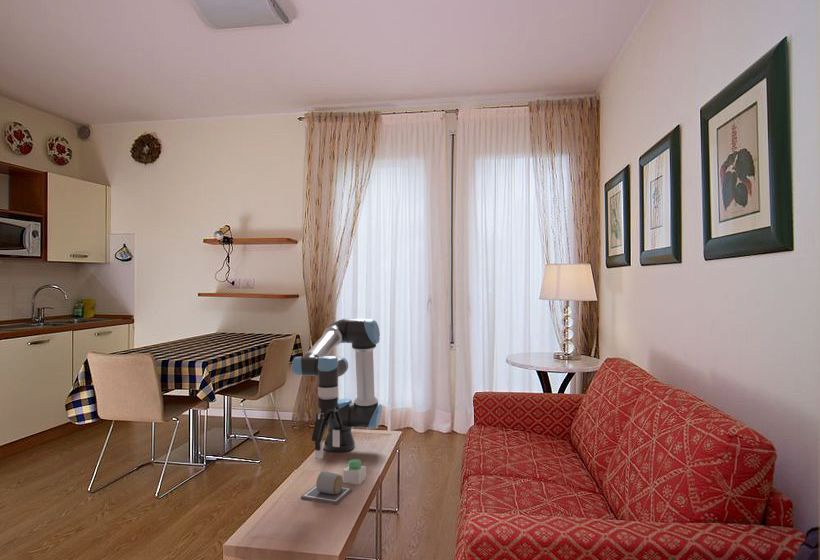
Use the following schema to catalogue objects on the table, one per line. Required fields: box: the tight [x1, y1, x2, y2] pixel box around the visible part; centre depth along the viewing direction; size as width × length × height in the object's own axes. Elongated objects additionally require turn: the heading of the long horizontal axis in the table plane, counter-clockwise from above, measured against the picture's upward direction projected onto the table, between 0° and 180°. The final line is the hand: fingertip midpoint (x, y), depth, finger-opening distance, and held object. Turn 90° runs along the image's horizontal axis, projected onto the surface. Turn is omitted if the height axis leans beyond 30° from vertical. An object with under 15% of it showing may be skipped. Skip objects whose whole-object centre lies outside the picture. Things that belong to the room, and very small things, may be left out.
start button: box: [348, 458, 362, 468], centre depth 200 cm, size 5×5×2 cm
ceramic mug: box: [315, 470, 344, 495], centre depth 187 cm, size 11×8×8 cm
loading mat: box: [300, 485, 353, 505], centre depth 186 cm, size 13×15×1 cm
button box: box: [342, 465, 367, 486], centre depth 200 cm, size 7×7×5 cm
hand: (327, 452), depth 186 cm, fingers open, 13 cm apart
